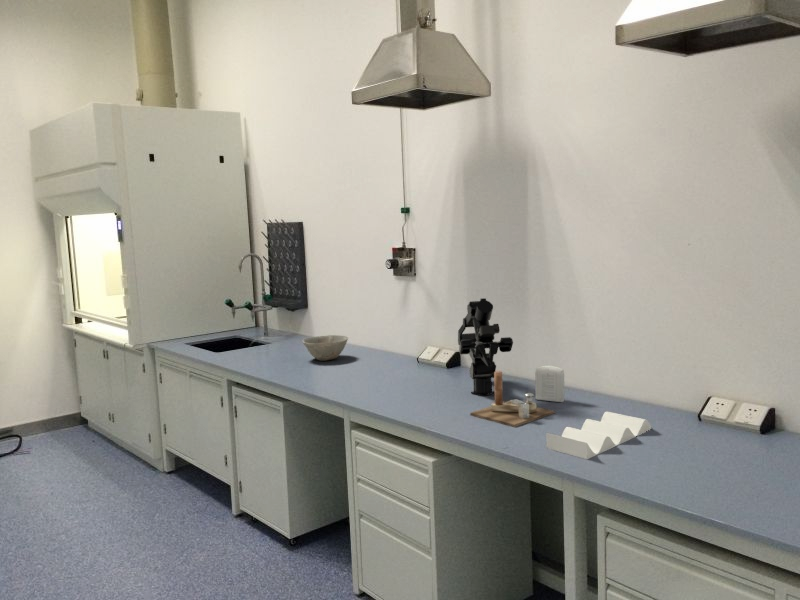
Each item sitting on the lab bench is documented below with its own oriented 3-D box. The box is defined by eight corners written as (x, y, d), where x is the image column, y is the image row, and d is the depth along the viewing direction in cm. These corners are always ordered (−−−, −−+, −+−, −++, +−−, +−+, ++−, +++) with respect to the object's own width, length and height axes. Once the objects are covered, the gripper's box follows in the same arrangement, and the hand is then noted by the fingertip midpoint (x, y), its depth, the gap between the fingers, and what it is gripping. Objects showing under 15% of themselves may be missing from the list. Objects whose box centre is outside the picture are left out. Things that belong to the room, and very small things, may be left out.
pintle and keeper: (529, 410, 222) (529, 392, 222) (542, 415, 216) (542, 397, 215) (510, 413, 219) (510, 395, 219) (523, 419, 213) (522, 400, 212)
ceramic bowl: (331, 352, 340) (330, 333, 339) (358, 358, 323) (357, 338, 321) (294, 359, 326) (292, 339, 325) (319, 366, 309) (318, 345, 307)
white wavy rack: (653, 430, 201) (653, 414, 200) (587, 461, 178) (586, 442, 177) (614, 422, 211) (614, 406, 210) (546, 450, 188) (546, 432, 187)
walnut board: (470, 415, 222) (470, 412, 222) (510, 402, 235) (510, 400, 235) (514, 427, 208) (514, 424, 208) (554, 413, 220) (554, 410, 220)
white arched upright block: (566, 400, 236) (565, 365, 234) (562, 403, 232) (562, 368, 230) (537, 397, 241) (537, 363, 239) (533, 400, 237) (533, 366, 236)
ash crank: (536, 409, 222) (535, 371, 220) (535, 413, 217) (535, 374, 216) (492, 408, 225) (491, 370, 224) (491, 411, 221) (490, 373, 220)
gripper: (459, 317, 236) (466, 354, 227) (511, 314, 238) (519, 351, 228) (456, 335, 245) (462, 371, 235) (506, 333, 246) (514, 368, 237)
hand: (489, 365), depth 234 cm, fingers closed
